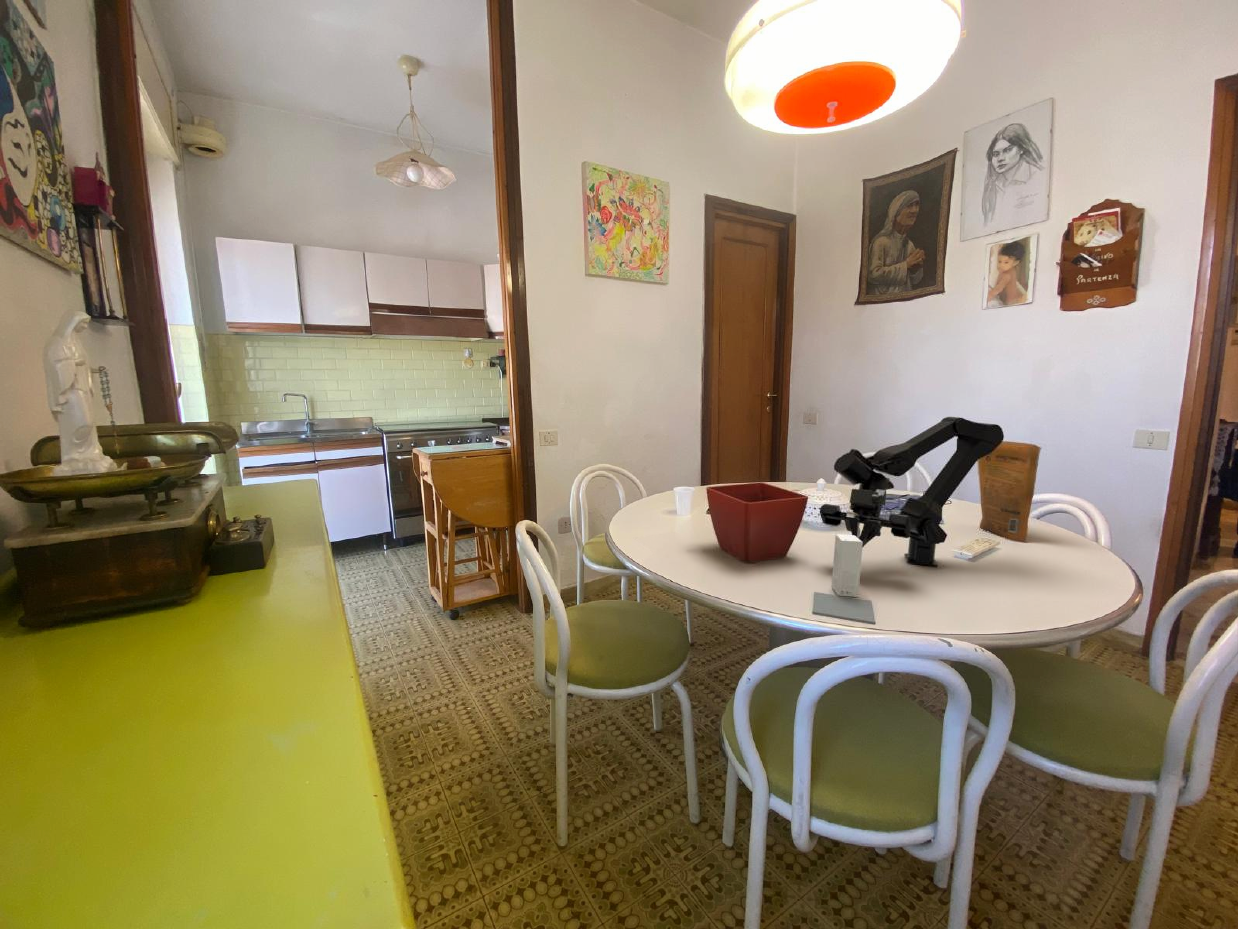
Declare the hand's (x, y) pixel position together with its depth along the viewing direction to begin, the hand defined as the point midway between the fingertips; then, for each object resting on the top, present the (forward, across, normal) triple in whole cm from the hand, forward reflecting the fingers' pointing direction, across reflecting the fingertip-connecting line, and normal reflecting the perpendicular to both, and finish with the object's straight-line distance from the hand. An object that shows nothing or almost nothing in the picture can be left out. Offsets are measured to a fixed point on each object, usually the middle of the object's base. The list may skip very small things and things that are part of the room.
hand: (855, 551), depth 110 cm
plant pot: (+2, -26, +8) cm, 27 cm away
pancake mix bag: (-40, +25, +51) cm, 70 cm away
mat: (+16, +2, -6) cm, 17 cm away
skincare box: (+10, 0, 0) cm, 10 cm away
